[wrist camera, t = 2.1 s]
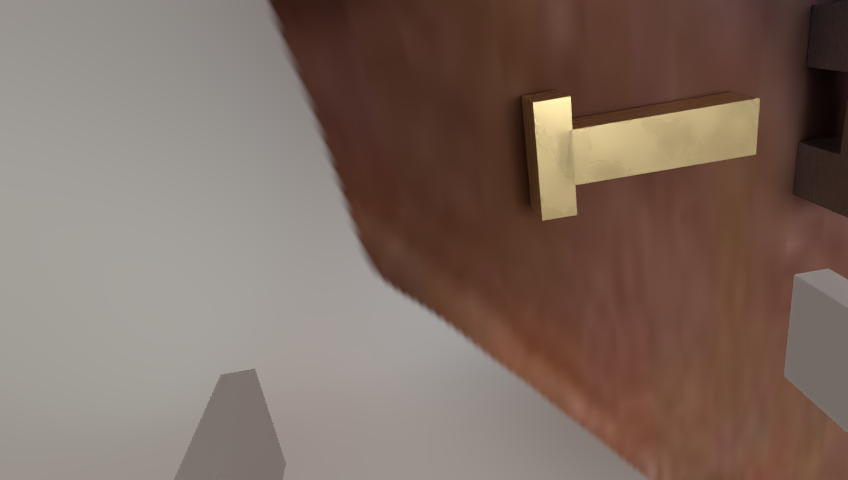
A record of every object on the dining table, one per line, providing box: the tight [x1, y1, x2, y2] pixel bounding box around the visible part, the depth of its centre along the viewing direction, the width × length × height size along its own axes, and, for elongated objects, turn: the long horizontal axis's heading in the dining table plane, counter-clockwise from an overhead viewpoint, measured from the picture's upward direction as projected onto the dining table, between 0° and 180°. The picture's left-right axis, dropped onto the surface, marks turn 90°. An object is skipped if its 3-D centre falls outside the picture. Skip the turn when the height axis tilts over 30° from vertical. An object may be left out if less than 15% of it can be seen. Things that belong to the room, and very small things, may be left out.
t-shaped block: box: [521, 90, 760, 221], centre depth 29 cm, size 6×11×2 cm, turn 99°
